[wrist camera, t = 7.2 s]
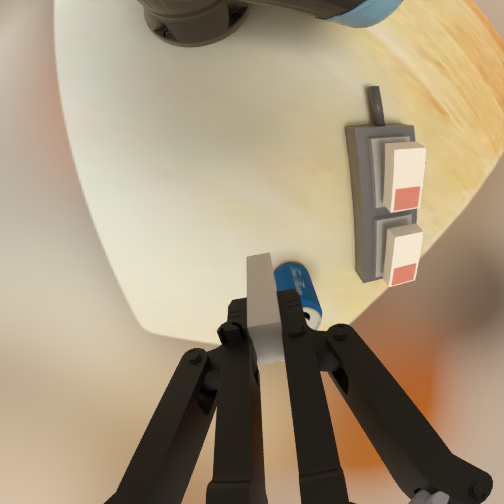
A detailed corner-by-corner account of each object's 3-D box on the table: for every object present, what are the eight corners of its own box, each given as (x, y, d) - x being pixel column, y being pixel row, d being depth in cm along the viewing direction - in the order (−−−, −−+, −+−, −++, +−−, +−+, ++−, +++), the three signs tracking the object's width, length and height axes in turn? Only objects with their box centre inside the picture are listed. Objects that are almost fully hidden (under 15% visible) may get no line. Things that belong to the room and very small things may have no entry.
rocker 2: (387, 228, 35) (395, 238, 33) (415, 223, 35) (424, 231, 33) (382, 277, 40) (388, 287, 38) (408, 270, 40) (415, 280, 38)
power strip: (337, 88, 33) (350, 85, 28) (395, 87, 32) (412, 86, 28) (355, 270, 47) (365, 287, 42) (402, 260, 46) (415, 274, 42)
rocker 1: (385, 143, 29) (394, 150, 27) (416, 141, 29) (426, 148, 27) (382, 203, 35) (390, 213, 33) (411, 199, 35) (420, 208, 33)
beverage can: (310, 260, 46) (328, 304, 35) (305, 292, 49) (319, 338, 38) (272, 260, 46) (280, 305, 35) (270, 292, 49) (276, 340, 38)
